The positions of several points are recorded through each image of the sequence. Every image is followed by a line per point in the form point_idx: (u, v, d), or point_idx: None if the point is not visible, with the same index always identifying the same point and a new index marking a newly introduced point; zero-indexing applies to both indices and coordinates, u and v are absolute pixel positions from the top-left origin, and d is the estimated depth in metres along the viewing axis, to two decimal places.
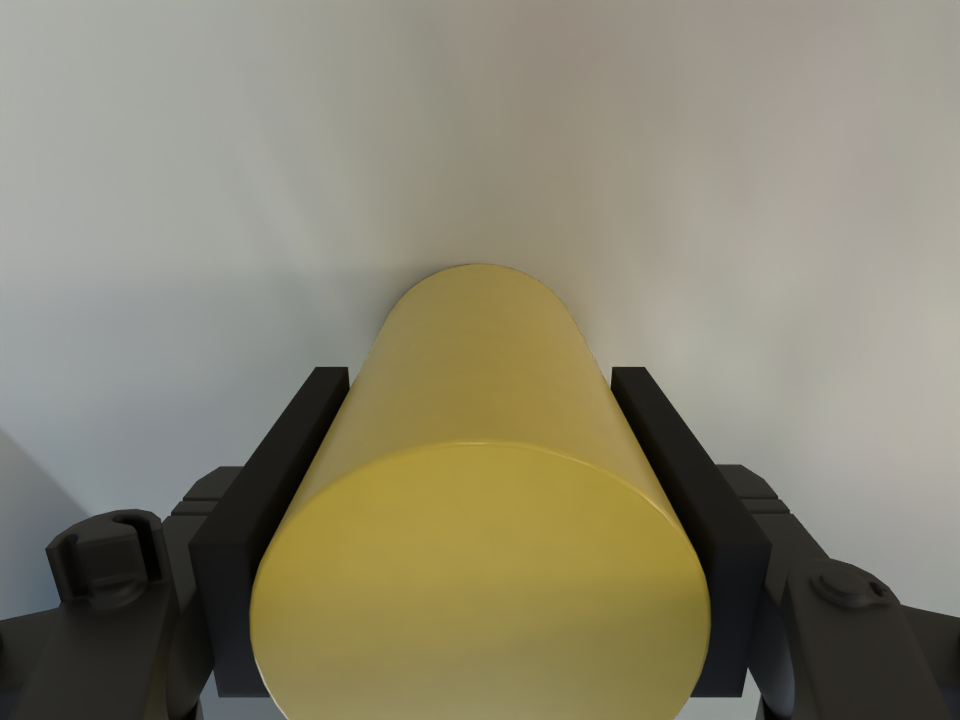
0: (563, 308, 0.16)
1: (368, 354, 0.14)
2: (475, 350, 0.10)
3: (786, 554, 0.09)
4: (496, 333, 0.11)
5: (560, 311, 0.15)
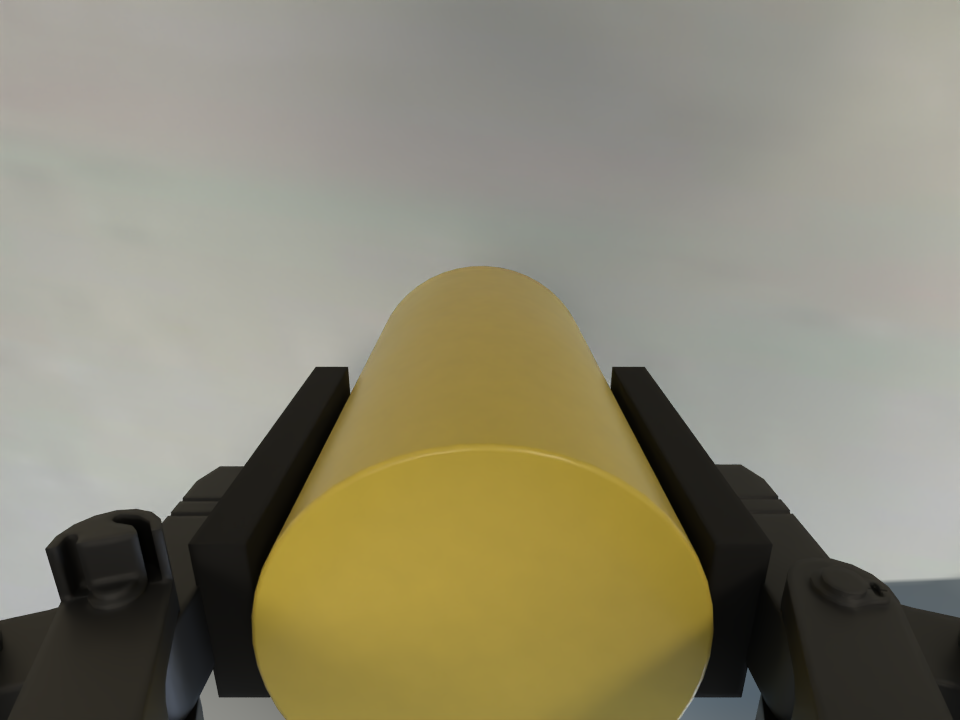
0: (564, 310, 0.16)
1: (369, 357, 0.14)
2: (476, 355, 0.10)
3: (786, 553, 0.09)
4: (497, 336, 0.11)
5: (561, 314, 0.15)
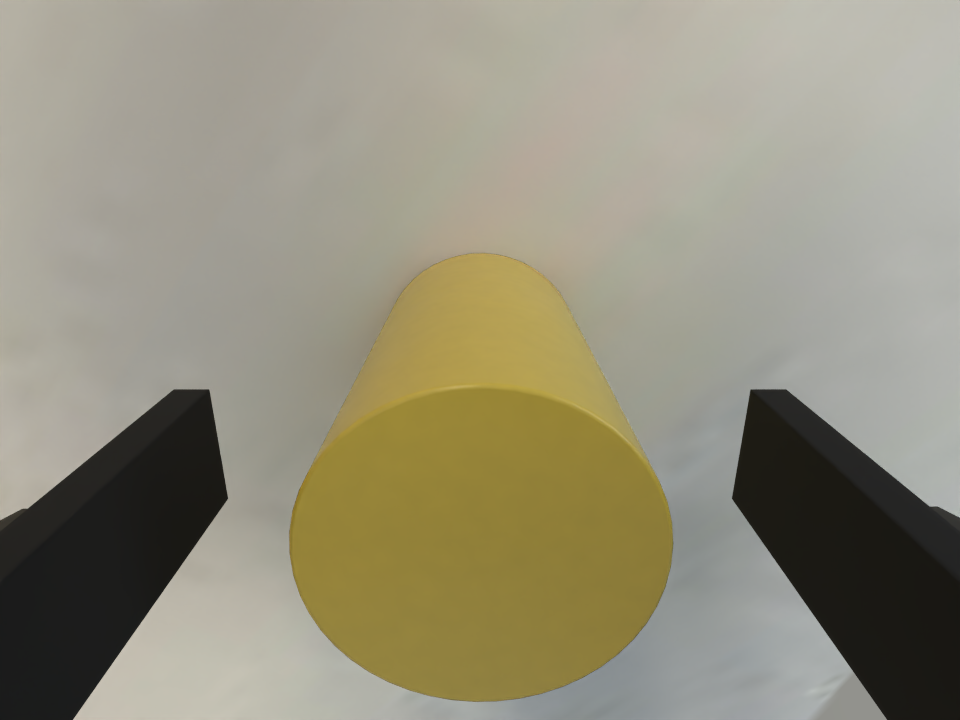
0: (556, 293, 0.17)
1: (380, 332, 0.15)
2: (475, 321, 0.11)
3: None
4: (494, 308, 0.12)
5: (553, 295, 0.16)
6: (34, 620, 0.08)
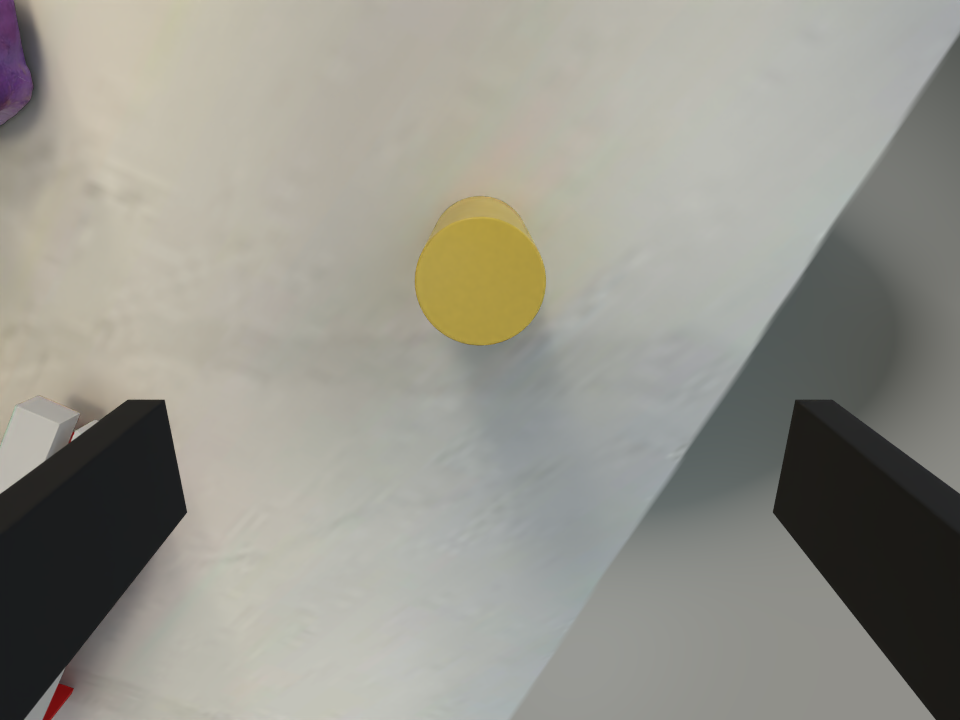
0: (517, 214, 0.36)
1: (435, 227, 0.34)
2: (478, 209, 0.30)
3: None
4: (485, 207, 0.31)
5: (514, 212, 0.35)
6: None
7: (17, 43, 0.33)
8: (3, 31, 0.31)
